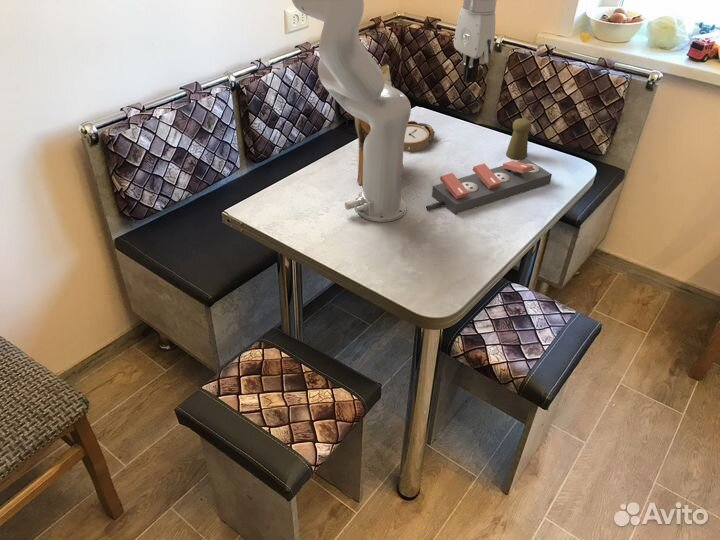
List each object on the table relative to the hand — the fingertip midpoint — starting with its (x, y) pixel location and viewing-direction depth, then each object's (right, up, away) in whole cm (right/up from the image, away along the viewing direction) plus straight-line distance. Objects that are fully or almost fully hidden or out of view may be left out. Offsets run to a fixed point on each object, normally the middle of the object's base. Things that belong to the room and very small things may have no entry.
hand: (469, 81), depth 154 cm
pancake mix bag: (-24, -20, +17) cm, 35 cm away
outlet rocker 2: (+5, -24, +7) cm, 25 cm away
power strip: (+6, -27, +9) cm, 29 cm away
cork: (+18, -14, +26) cm, 35 cm away
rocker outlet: (+15, -21, +11) cm, 28 cm away
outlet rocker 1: (-4, -27, +3) cm, 27 cm away
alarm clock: (-11, -9, +32) cm, 35 cm away
